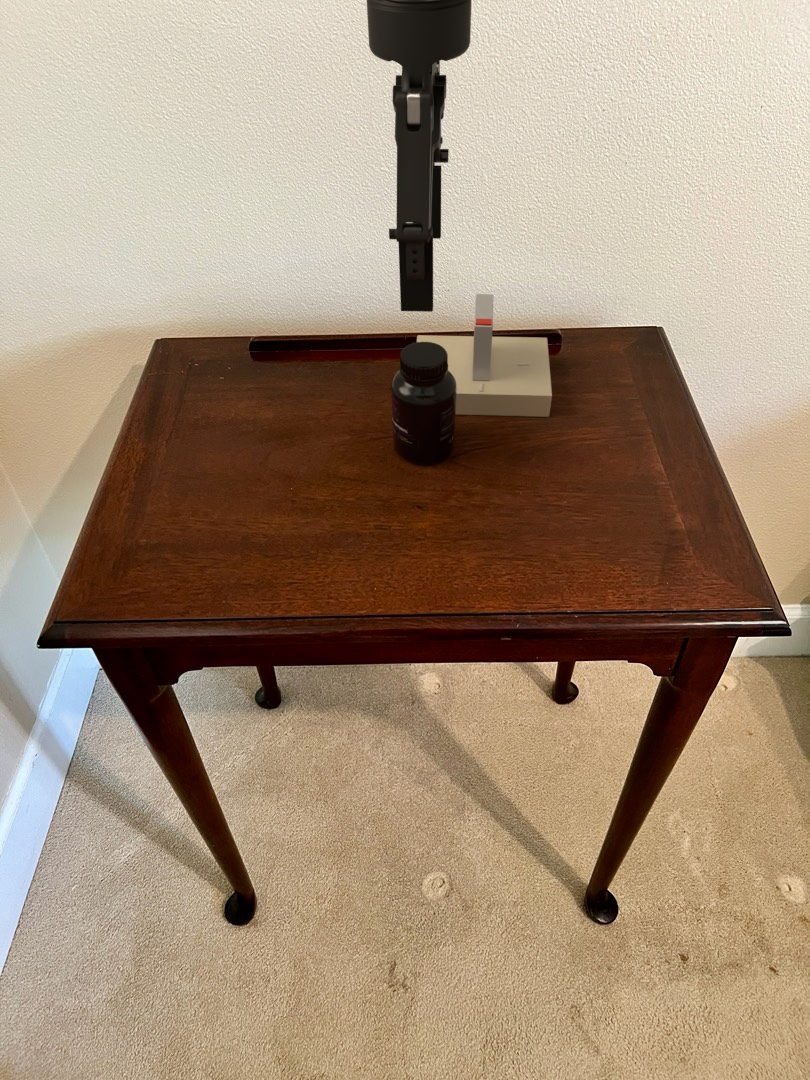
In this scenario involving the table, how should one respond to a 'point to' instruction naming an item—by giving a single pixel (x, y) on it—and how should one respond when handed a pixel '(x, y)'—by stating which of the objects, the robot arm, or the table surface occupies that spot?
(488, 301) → the tap lever
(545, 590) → the table surface
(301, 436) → the table surface
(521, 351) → the sink deck
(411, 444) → the supplement bottle
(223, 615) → the table surface
